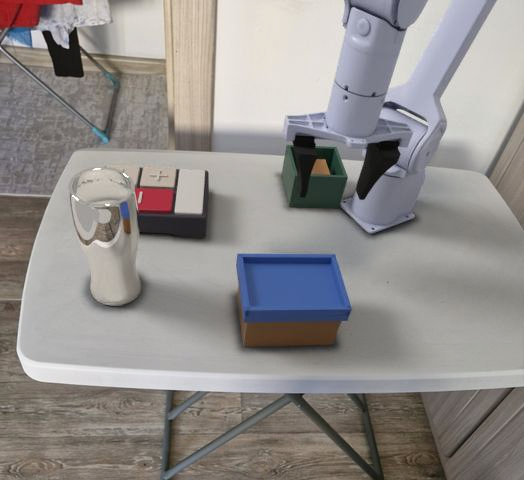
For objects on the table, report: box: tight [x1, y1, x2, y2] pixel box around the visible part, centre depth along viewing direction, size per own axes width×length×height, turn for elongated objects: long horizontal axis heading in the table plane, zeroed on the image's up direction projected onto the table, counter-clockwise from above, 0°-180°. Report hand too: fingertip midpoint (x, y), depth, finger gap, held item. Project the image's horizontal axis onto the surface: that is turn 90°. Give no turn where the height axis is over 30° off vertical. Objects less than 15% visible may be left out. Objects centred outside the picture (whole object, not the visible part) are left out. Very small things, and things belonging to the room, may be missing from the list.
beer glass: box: [68, 166, 142, 307], centre depth 60 cm, size 7×7×15 cm
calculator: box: [104, 163, 210, 239], centre depth 74 cm, size 11×4×15 cm
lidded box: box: [235, 253, 353, 348], centre depth 63 cm, size 12×9×7 cm
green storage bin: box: [280, 144, 349, 209], centre depth 81 cm, size 8×8×6 cm
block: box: [311, 159, 330, 175], centre depth 81 cm, size 4×4×4 cm
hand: (330, 194), depth 66 cm, fingers open, 7 cm apart
